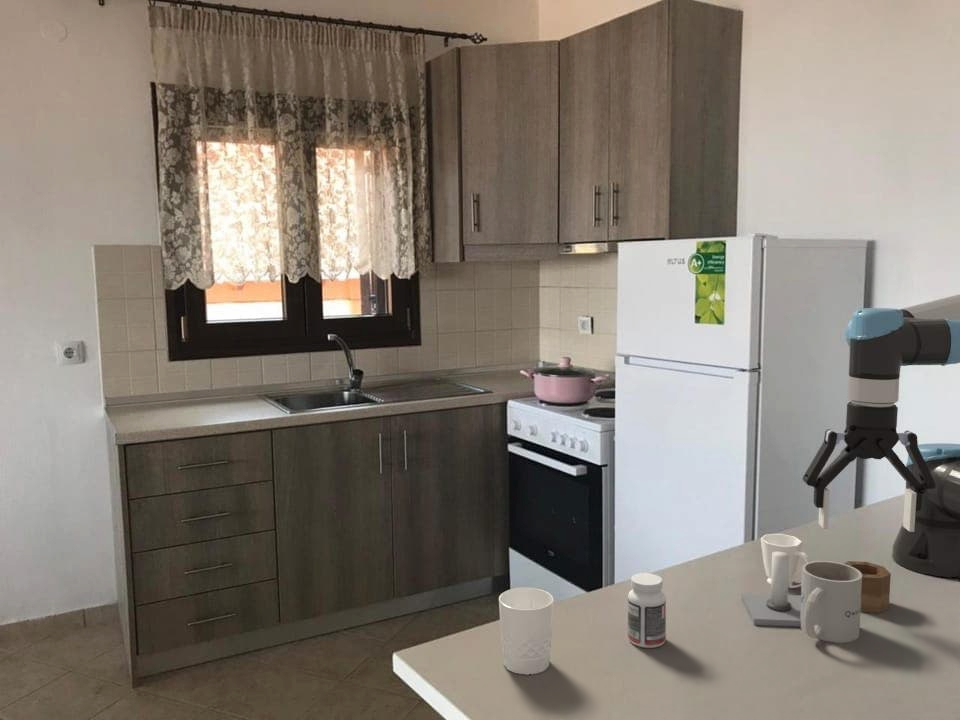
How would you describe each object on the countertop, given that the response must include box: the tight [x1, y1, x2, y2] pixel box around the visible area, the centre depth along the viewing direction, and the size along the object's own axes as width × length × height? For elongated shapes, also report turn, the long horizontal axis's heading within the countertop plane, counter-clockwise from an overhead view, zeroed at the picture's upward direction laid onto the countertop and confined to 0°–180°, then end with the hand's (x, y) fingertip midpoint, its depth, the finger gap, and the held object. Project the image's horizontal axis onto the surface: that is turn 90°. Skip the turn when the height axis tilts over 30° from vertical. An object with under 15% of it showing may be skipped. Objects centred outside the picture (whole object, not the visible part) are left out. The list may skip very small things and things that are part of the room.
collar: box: [842, 560, 892, 614], centre depth 136 cm, size 7×7×6 cm
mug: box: [799, 560, 862, 643], centre depth 125 cm, size 12×9×10 cm
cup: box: [760, 533, 812, 589], centre depth 143 cm, size 7×10×8 cm
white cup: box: [498, 587, 554, 676], centre depth 117 cm, size 8×8×10 cm
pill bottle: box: [627, 572, 667, 649], centre depth 123 cm, size 6×6×10 cm
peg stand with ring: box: [741, 552, 801, 628], centre depth 132 cm, size 10×10×10 cm
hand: (865, 527), depth 134 cm, fingers open, 13 cm apart
